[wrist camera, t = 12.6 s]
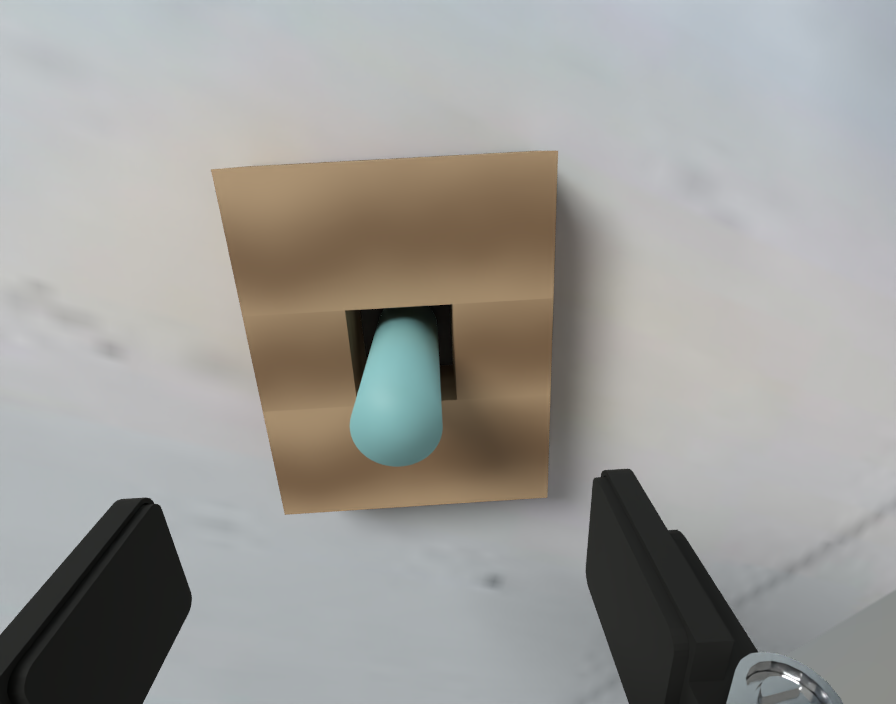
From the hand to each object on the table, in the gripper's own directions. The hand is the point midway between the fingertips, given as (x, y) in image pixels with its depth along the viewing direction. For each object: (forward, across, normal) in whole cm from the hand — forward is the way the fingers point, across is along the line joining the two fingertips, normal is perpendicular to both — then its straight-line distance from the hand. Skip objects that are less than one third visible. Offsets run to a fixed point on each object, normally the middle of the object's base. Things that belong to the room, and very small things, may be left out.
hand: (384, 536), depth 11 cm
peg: (+16, 0, +1) cm, 16 cm away
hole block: (+16, 0, +1) cm, 16 cm away
